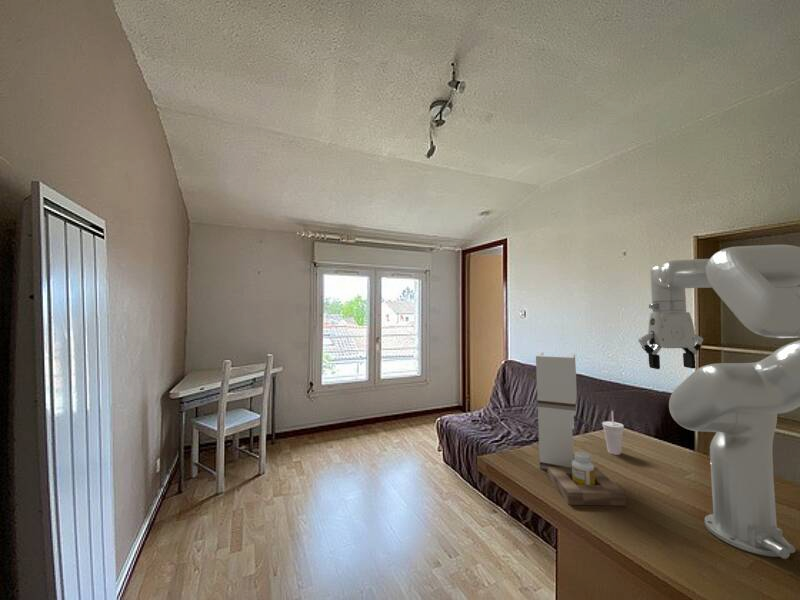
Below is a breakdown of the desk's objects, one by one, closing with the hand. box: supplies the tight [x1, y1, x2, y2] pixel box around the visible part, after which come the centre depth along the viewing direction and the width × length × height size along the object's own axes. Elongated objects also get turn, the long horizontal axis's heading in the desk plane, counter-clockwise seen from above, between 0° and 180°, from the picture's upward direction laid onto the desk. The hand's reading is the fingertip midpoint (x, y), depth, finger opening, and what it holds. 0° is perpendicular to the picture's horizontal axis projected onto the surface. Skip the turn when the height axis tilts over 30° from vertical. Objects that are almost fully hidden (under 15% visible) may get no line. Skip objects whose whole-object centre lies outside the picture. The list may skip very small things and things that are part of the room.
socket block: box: [546, 466, 627, 506], centre depth 91 cm, size 14×14×3 cm
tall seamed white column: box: [535, 351, 578, 471], centre depth 107 cm, size 11×11×35 cm
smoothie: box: [601, 410, 625, 456], centre depth 114 cm, size 6×6×14 cm
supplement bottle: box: [572, 450, 595, 485], centre depth 91 cm, size 5×5×10 cm
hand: (672, 368), depth 94 cm, fingers open, 9 cm apart
